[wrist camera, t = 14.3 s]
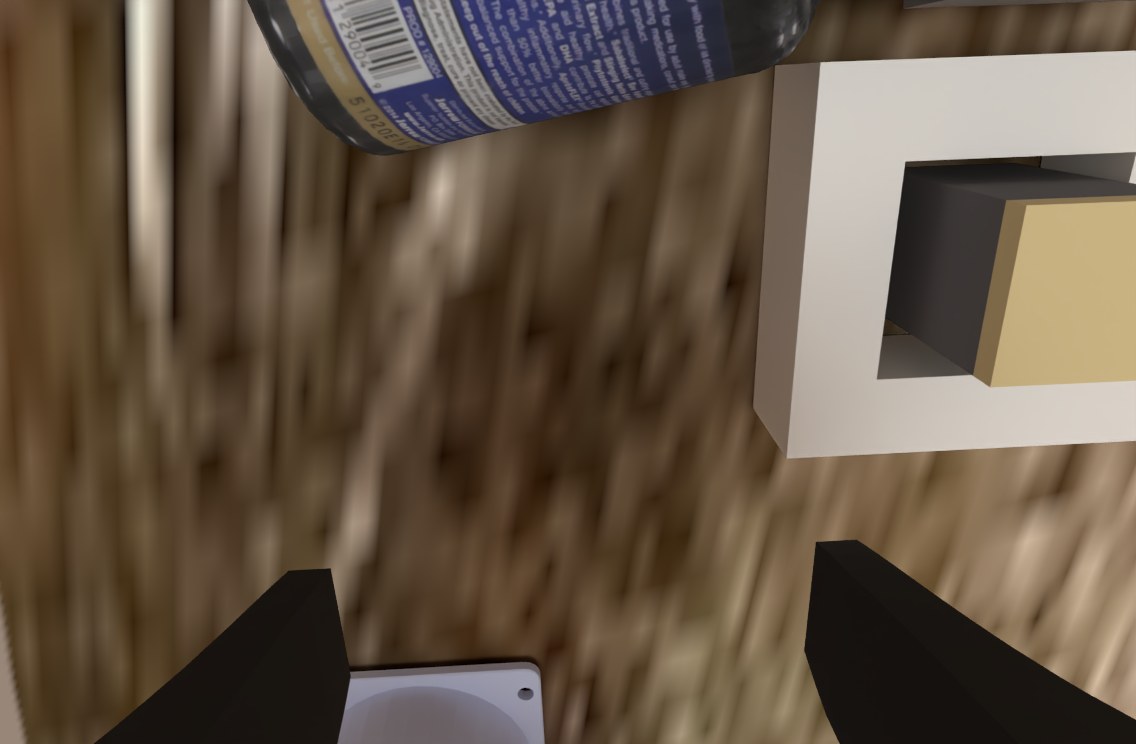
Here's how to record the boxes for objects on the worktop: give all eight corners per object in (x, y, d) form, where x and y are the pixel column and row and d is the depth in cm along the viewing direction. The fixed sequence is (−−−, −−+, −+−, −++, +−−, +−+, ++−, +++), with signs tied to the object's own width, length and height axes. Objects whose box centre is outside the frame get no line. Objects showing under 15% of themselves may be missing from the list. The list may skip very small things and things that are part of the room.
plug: (988, 296, 20) (1165, 379, 14) (861, 301, 20) (990, 387, 14) (1013, 162, 19) (1219, 198, 13) (877, 168, 18) (1026, 205, 13)
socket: (1063, 392, 21) (1143, 440, 18) (752, 407, 21) (787, 458, 18) (1143, 51, 18) (1257, 46, 15) (775, 65, 17) (821, 62, 15)
